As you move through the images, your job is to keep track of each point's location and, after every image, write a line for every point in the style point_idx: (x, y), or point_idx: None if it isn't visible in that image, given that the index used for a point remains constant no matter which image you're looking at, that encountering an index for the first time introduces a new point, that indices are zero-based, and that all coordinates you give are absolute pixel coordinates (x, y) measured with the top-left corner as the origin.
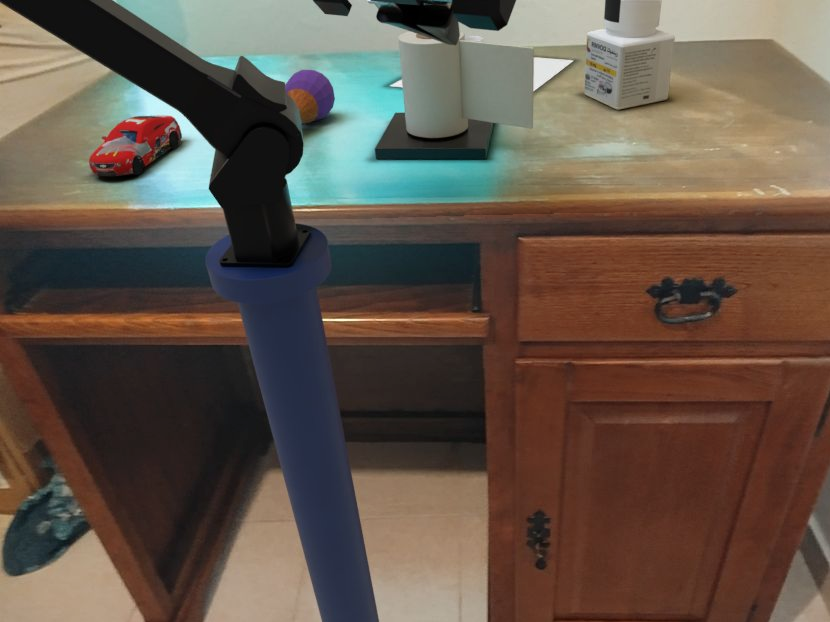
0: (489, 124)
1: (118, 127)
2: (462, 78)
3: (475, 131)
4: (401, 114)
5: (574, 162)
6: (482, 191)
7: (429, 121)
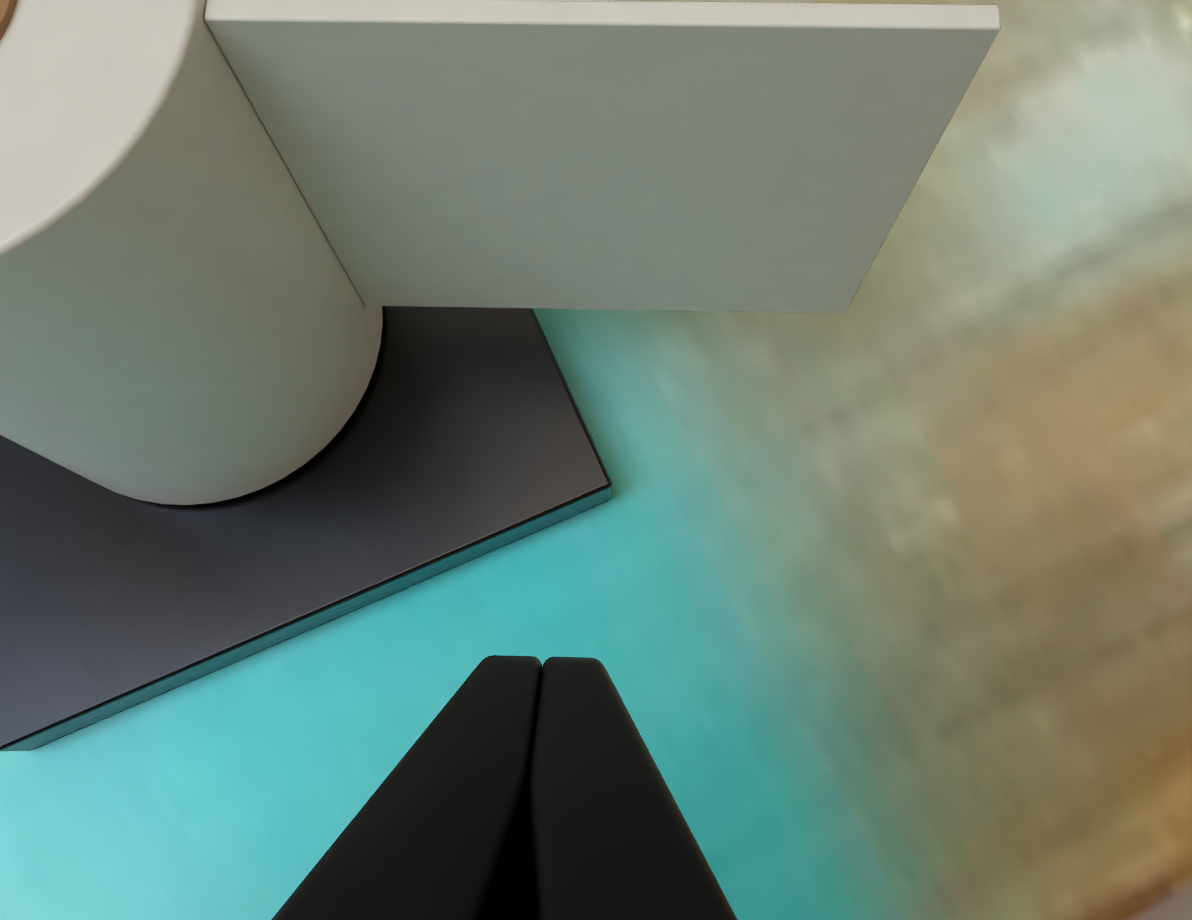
0: None
1: None
2: (314, 189)
3: None
4: None
5: (1047, 349)
6: (816, 898)
7: (214, 469)
